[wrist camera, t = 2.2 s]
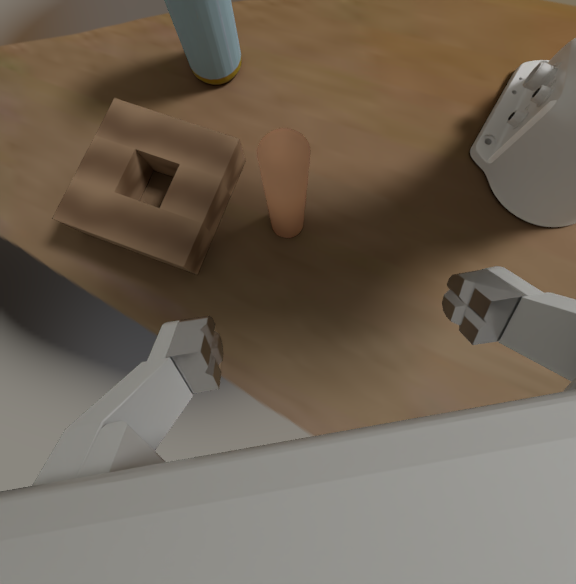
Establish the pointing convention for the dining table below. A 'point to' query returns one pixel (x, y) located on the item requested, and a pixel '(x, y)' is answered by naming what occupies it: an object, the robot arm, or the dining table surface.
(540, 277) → the dining table surface
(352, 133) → the dining table surface
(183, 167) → the socket block
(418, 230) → the dining table surface
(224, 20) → the bottle
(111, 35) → the dining table surface
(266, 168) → the peg
